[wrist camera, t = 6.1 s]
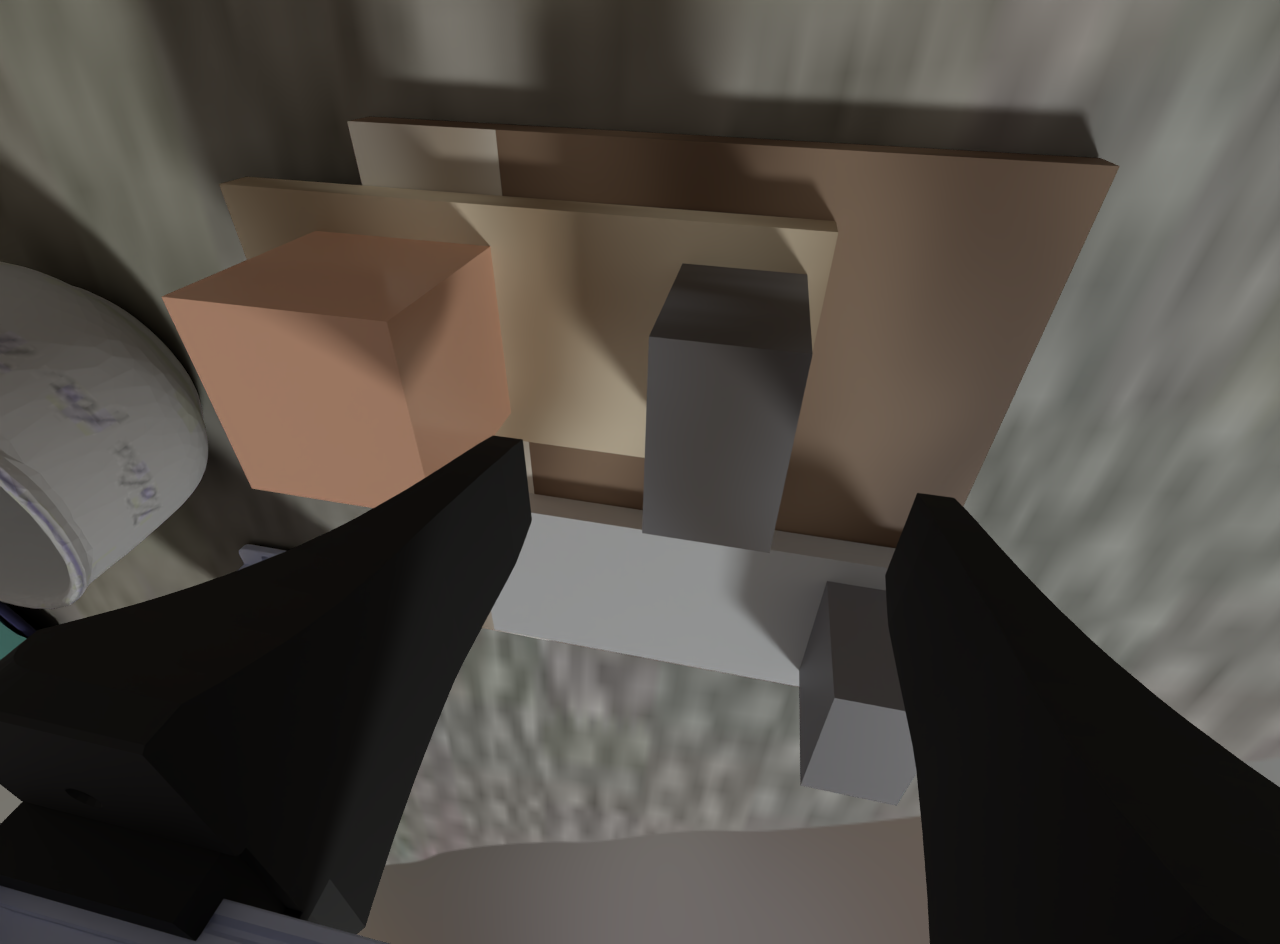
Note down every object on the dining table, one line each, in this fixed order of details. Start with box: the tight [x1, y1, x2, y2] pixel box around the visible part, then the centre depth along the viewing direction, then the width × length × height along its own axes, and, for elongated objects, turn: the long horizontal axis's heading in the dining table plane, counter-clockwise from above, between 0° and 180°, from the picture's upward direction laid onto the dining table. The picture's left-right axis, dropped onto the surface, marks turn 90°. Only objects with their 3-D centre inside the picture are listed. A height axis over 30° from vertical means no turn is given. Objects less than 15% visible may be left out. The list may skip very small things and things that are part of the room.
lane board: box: [347, 117, 1119, 687], centre depth 20 cm, size 18×20×1 cm
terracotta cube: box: [162, 231, 511, 508], centre depth 15 cm, size 5×5×5 cm
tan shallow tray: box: [219, 177, 838, 553], centre depth 15 cm, size 16×7×5 cm, turn 89°
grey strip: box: [491, 493, 917, 806], centre depth 21 cm, size 16×7×5 cm, turn 89°
